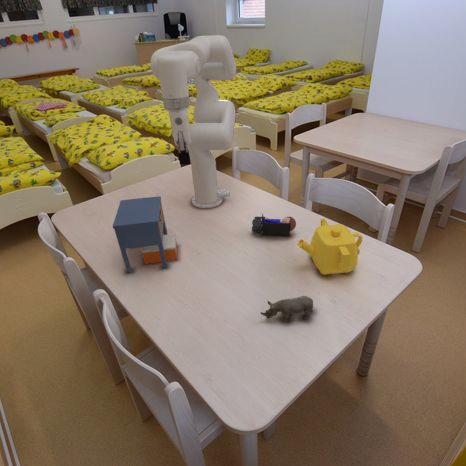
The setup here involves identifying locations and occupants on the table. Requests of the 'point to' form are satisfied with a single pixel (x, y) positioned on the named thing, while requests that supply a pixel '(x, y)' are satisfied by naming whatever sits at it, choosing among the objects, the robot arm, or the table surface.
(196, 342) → the table surface
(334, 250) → the teapot
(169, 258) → the storage box
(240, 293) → the table surface
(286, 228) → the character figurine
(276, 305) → the rhino figurine
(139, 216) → the drawer unit
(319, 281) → the table surface
